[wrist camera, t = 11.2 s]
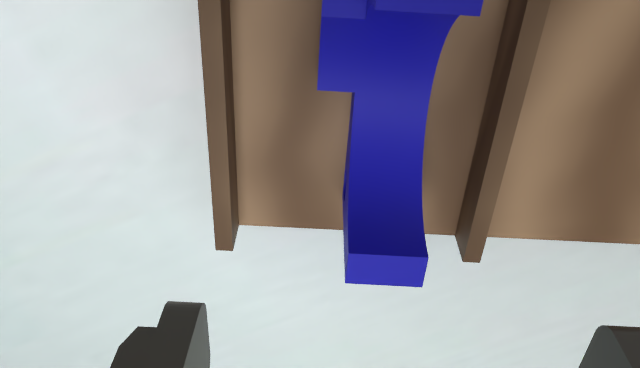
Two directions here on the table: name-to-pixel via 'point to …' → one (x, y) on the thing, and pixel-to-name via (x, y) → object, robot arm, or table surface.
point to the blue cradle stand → (385, 125)
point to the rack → (436, 122)
